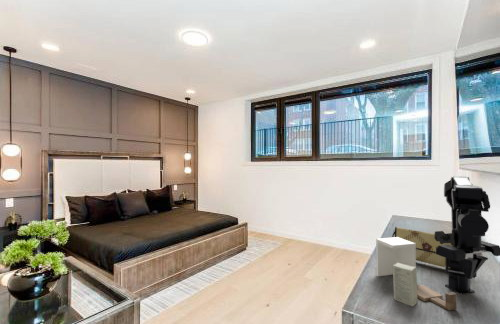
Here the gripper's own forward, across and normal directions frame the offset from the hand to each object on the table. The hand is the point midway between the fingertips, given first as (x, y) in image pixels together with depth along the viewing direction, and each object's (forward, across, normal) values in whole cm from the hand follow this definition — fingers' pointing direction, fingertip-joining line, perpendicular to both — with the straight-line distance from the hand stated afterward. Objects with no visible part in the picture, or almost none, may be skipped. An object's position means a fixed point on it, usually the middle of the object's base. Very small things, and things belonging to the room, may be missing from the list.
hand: (468, 278), depth 75 cm
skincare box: (+13, +10, -14) cm, 21 cm away
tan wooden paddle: (+13, 0, -16) cm, 20 cm away
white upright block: (+13, 0, -28) cm, 31 cm away
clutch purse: (+13, -25, -37) cm, 47 cm away
